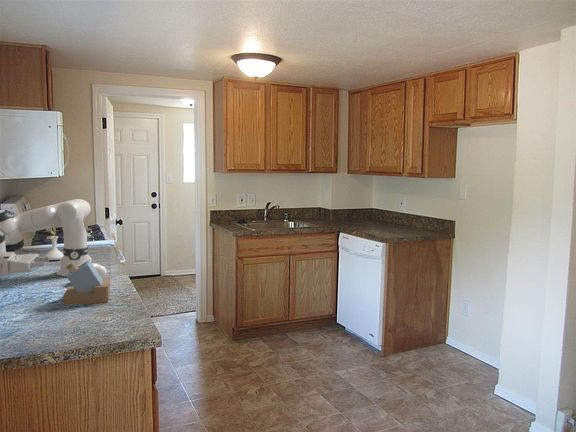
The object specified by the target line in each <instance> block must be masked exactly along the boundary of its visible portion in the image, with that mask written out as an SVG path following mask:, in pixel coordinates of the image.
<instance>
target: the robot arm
mask: <svg viewBox="0 0 576 432" xmlns="http://www.w3.org/2000/svg"><path fill="white" fill-rule="evenodd" d="M91 210H92V209H91V204H90V203H89V202H88V201H87V200H85V199H82V198H75V199H70V200H66V201H63V202H58V203H55V204H51V205H46V206H42V207H39V208H38V207H37V208H34V209H30V210H27V211H24V212H21V213H20V214H17V213H15V212H12V210H7V209H0V275H3V276H8V275H11V274H12V275H13V274H19V273H26V272H29V271H31V269H35V268H39V267H44V266H45V265H46V264H45V263H47V262H48V263H49V261H50V260H49V257H44V256H40V254H39V253H23V254H16V252H18V251H20V250H22V249H23V248H24V246H25V240H24V238H23V236H22V233H30V232H31V233H32V232H38V231H42V230H46V228H50V227H52V228H53V227H54V228H55V227H57V226H61V228H62V232H63V233H62V234H63V248H62V253H63V255H64V256H63V257H62V258H61V259H59V262H60V263H59V271H58V272H56V276H60V277H61V276H62V277H66V276H67V274H68V273H69V270H68V269H67V268H66V266H67V265H69V264H70V263H71V262H73V263H74V264H75V265H76V266H78V265H80V264H83V263H85V262H86V261H88V260H90V261H91V262H92V257H91V256H90V255H89V250H90V249H89V246H88V231H87V229H86V227H85V223H84V219H86V218H87V217H88V216H89V214H90V213H91Z"/></svg>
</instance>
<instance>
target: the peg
mask: <svg viewBox="0 0 576 432" xmlns="http://www.w3.org/2000/svg"><path fill="white" fill-rule="evenodd" d="M66 268H67V269H68V270H69V271H70V272H71V273H72V272H74V271H75V270H77V269H79V268H78V267H77V266H76V265H75V264H74V263H73V262H71V263H70V264H69V265H67V266H66Z"/></svg>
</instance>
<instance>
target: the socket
mask: <svg viewBox="0 0 576 432" xmlns="http://www.w3.org/2000/svg"><path fill="white" fill-rule="evenodd" d="M92 263H93V262H92V260H91V261H90V260H88V261H87V262H85V263H83V264H81V265H79V266H78V268H79V269H77V270H75V271H74V272H72V273H71V272H70V271H69V273H68V274H67V276H65V277H66V278H67V279H68V281H69V282H70V284H71V285H72V286H68V287H67V288H66V290H65V292H64V293H63V297H62V299H63V306H66V305H67V306H68V305H69V306H70V305H82V304H86V305H87V304H101V303H108V302H109V298H110V295H111V282H110V281H111V280H110V278H104V279H102V277H101V276H100V274H99V273H98V272H97V270H96V269H95V267H94V266H93V264H92Z"/></svg>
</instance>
